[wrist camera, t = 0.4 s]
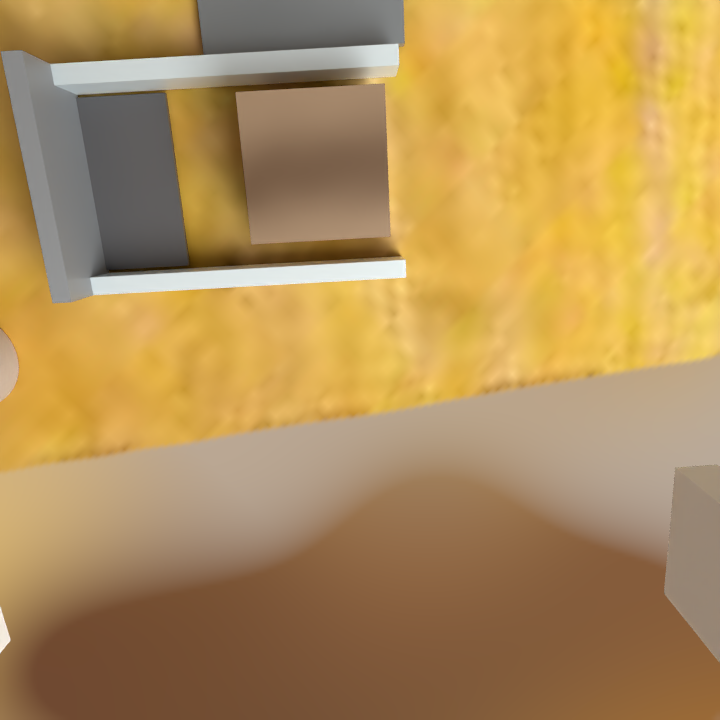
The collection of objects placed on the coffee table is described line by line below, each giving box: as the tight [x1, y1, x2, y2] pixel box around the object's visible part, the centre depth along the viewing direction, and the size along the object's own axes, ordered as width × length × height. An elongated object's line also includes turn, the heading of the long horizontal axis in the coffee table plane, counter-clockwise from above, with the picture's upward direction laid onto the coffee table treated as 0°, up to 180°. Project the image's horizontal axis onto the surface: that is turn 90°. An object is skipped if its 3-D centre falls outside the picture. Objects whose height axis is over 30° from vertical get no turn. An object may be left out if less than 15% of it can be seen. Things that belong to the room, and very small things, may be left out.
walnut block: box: [235, 84, 390, 244], centre depth 29 cm, size 7×7×6 cm
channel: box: [1, 44, 406, 303], centre depth 30 cm, size 12×19×5 cm, turn 93°
